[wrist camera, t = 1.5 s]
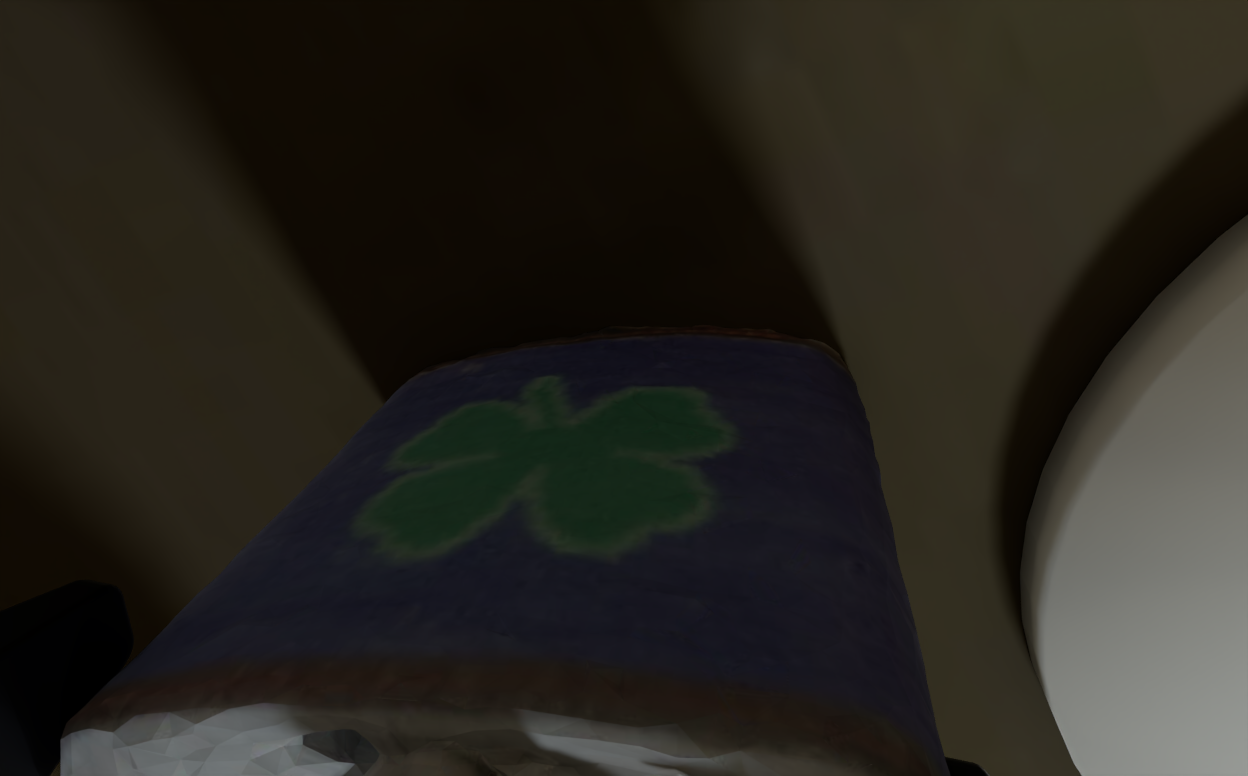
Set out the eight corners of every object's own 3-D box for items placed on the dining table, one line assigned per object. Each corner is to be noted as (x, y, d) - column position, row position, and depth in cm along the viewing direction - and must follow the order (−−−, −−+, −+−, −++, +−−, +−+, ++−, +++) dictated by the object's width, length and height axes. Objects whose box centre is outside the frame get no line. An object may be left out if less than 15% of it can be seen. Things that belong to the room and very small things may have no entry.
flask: (416, 467, 17) (-60, 1067, 7) (380, 341, 15) (-250, 854, 6) (861, 450, 15) (1039, 1242, 5) (858, 304, 14) (1083, 978, 4)
